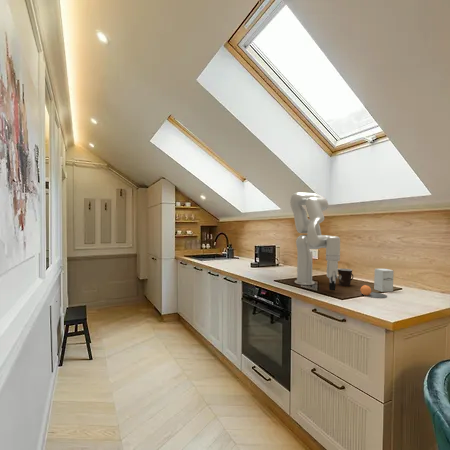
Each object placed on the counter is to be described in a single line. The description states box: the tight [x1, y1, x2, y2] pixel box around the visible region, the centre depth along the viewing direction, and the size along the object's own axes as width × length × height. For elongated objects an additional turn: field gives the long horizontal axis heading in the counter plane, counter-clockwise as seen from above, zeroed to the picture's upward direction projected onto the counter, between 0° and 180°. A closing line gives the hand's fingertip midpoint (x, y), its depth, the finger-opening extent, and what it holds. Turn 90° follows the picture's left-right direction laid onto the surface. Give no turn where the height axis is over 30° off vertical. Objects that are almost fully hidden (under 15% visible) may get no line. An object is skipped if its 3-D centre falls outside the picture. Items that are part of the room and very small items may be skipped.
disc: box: [363, 291, 388, 299], centre depth 163 cm, size 13×13×1 cm
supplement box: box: [373, 268, 395, 293], centre depth 174 cm, size 7×7×13 cm
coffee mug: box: [338, 268, 354, 287], centre depth 186 cm, size 12×9×10 cm
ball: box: [360, 284, 372, 296], centre depth 162 cm, size 6×6×6 cm
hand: (332, 289), depth 167 cm, fingers closed
